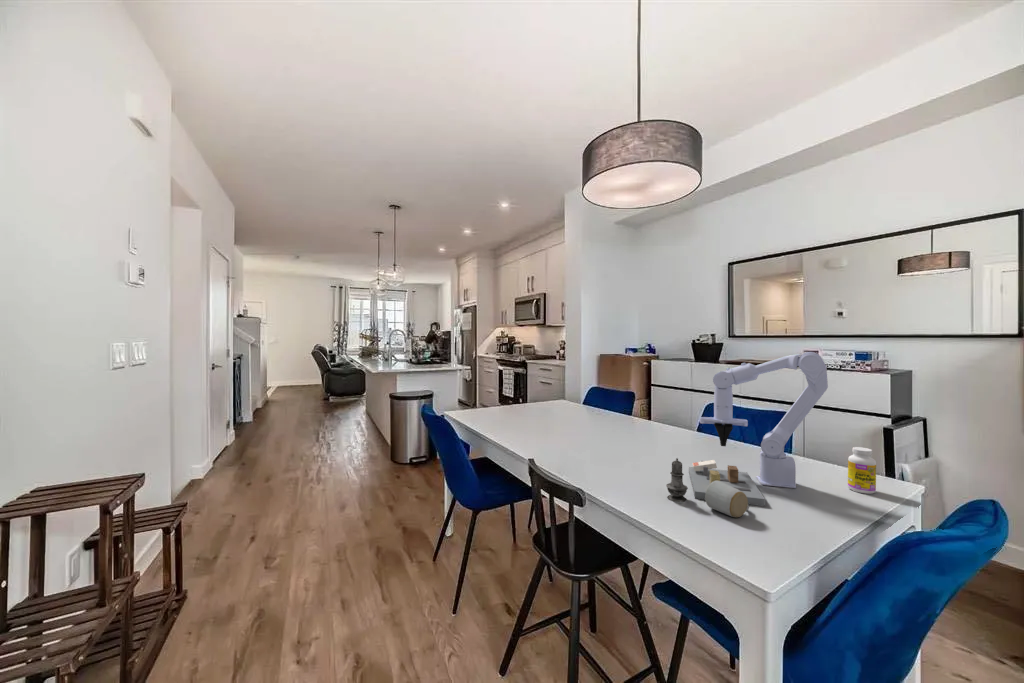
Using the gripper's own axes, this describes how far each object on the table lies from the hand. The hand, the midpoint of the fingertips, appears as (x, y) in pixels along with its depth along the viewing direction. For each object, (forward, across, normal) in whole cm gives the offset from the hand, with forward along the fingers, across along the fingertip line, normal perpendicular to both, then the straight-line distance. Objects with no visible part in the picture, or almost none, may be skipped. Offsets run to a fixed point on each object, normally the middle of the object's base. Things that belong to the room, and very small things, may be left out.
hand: (723, 445), depth 144 cm
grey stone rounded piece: (+10, -16, -28) cm, 34 cm away
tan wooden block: (+8, -5, -20) cm, 22 cm away
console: (+10, -2, -14) cm, 17 cm away
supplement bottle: (+10, +38, -3) cm, 39 cm away
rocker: (+6, -6, -6) cm, 11 cm away
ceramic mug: (+10, -3, -33) cm, 35 cm away
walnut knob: (+8, +1, -13) cm, 15 cm away
